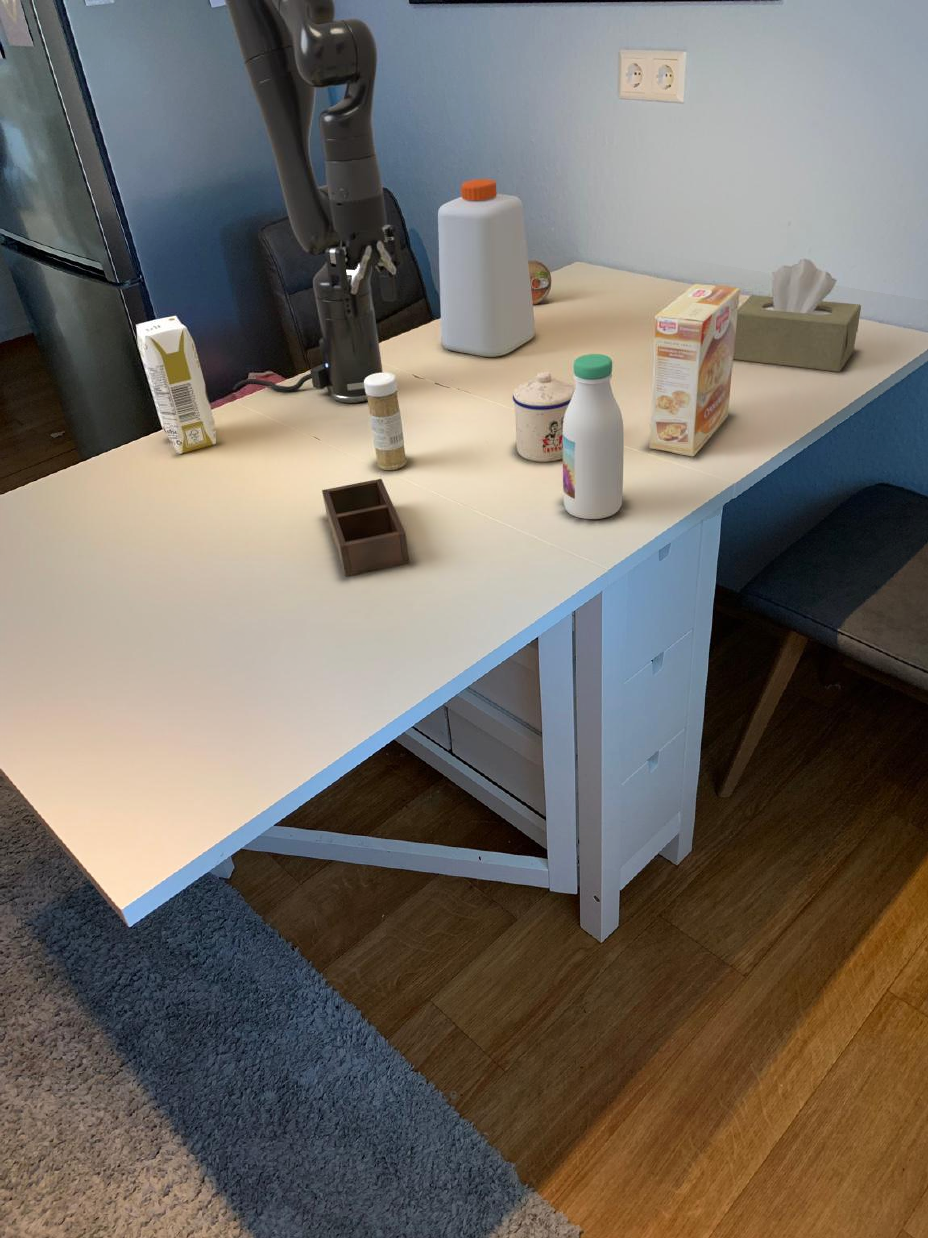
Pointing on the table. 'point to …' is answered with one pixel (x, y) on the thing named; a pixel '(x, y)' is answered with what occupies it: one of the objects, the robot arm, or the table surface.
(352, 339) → the robot arm
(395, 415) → the sprinkles bottle
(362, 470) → the table surface
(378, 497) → the holder
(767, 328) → the tissue box
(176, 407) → the juice carton
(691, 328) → the coffeecake box
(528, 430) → the teacup with lid
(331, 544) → the table surface
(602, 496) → the milk bottle
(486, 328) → the plastic bottle
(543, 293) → the tin
